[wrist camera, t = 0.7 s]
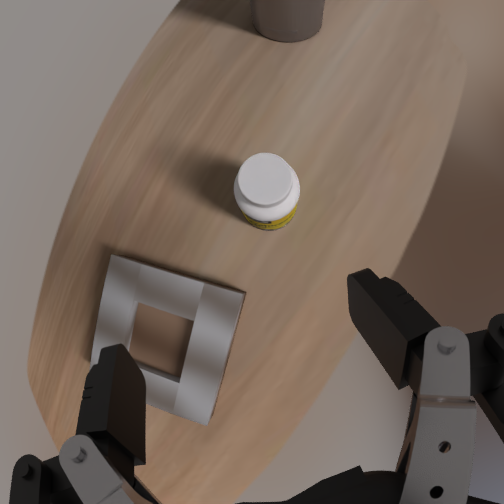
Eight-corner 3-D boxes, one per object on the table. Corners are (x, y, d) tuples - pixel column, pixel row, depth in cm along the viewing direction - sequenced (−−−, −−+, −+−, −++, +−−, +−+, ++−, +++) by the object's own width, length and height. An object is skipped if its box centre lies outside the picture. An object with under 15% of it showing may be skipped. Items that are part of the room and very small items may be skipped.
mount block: (124, 256, 33) (111, 254, 30) (246, 292, 32) (242, 294, 29) (102, 370, 33) (88, 377, 30) (213, 414, 31) (207, 425, 28)
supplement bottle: (245, 234, 32) (229, 217, 23) (241, 182, 33) (224, 146, 23) (299, 229, 32) (306, 210, 22) (293, 177, 32) (297, 139, 22)
